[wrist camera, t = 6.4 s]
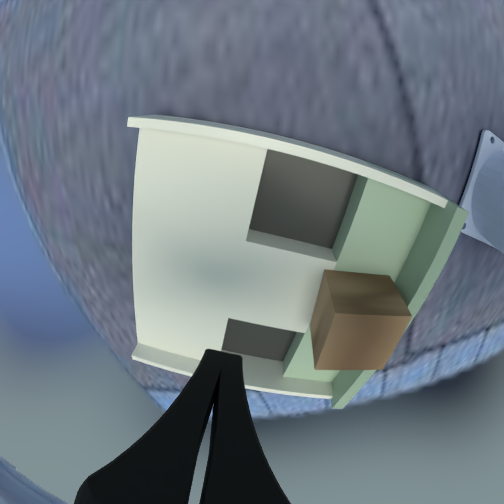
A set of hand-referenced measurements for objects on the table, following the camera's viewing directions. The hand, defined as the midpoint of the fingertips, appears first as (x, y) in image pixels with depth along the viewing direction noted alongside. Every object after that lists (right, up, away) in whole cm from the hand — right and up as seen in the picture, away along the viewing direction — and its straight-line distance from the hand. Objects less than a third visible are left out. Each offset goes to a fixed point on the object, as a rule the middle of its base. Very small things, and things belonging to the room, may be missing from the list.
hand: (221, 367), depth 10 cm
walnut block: (+8, +1, +7) cm, 10 cm away
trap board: (+2, +3, +9) cm, 10 cm away
